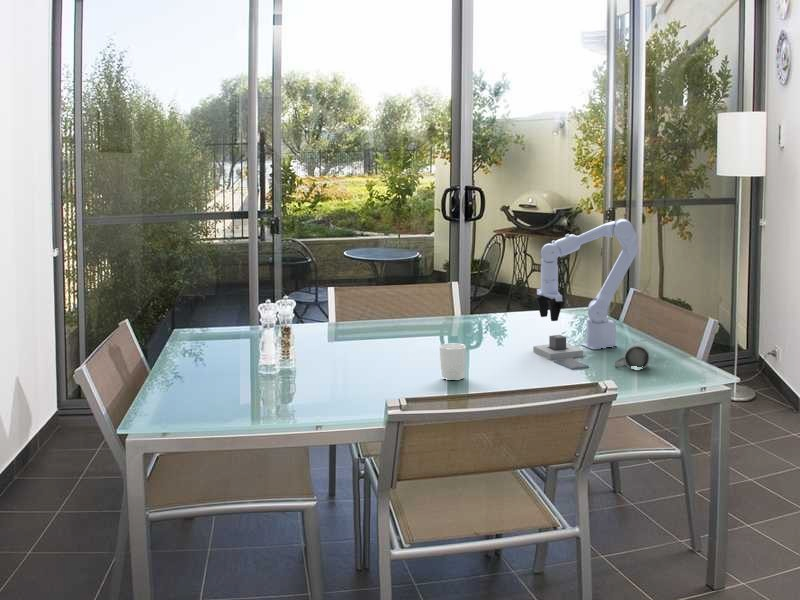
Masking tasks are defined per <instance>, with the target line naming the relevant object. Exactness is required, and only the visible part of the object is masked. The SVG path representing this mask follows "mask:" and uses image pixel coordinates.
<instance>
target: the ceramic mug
mask: <svg viewBox="0 0 800 600" xmlns="http://www.w3.org/2000/svg"><path fill="white" fill-rule="evenodd" d="M650 359H651V356H650V351H649V348H648V347H647V346H646V345H644V344H643V343H641V342H640V343H639V342H635V343H632V344H630V345H628V347H627V348H626V349H625V352H624V355H623V357H620V358H618V359H616V360H615V361H613V363H614V365H615V367H616V366H618V367H617V368H620V367H623V366H626V368H628V369H630V368H631V366H637V367H642V366H643V367H642V368H644V369H645V368H647V367H648V365H649V363H650Z"/></svg>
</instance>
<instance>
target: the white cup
mask: <svg viewBox="0 0 800 600" xmlns="http://www.w3.org/2000/svg"><path fill="white" fill-rule="evenodd" d="M466 349H467V345H465V344H464V343H460V342H459V343H457V342H450V343H449V342H448V343H443V344H440V345H439V357H440V359H439V360H440V370H441V378H442V377H444V378H447V379H454V380H456V379H462V378H464V379H465V373H466V372H465V371H466V356H467V355H466V354H467V350H466Z"/></svg>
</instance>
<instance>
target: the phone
mask: <svg viewBox="0 0 800 600" xmlns="http://www.w3.org/2000/svg"><path fill="white" fill-rule="evenodd" d="M553 363H555V364H557V365H560V366H562V367H564V368H566V369H570V370H571V371H573V370H574V371H575V370H583V369H589V368H590V365H588V364H586V363H583V362H580V361H578V360H576V359H574V358H564V359H555V360H553Z"/></svg>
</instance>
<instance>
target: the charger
mask: <svg viewBox="0 0 800 600" xmlns="http://www.w3.org/2000/svg"><path fill="white" fill-rule="evenodd" d="M548 338H549V339H548V340H549V341H548V342H549V344H548V345H549V348H550V349H552V350H554V351H557V350H566V343H567V336H564V335H562V334H553V335H549V336H548Z"/></svg>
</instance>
